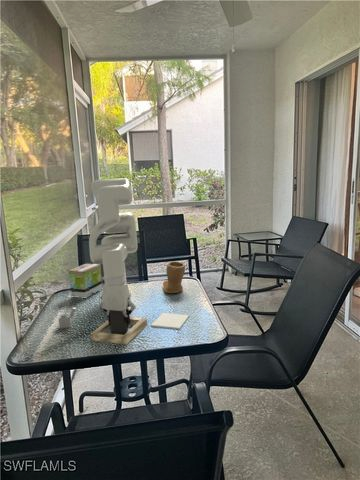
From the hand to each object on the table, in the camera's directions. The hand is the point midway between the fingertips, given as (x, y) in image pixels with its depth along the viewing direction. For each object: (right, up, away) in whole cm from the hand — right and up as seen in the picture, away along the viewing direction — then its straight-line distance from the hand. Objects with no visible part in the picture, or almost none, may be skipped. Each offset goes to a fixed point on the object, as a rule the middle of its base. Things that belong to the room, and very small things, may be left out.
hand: (119, 324), depth 128 cm
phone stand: (0, -3, +1) cm, 3 cm away
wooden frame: (0, -3, +1) cm, 3 cm away
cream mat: (+20, -1, +7) cm, 21 cm away
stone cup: (+21, +6, +45) cm, 50 cm away
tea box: (-26, +4, +49) cm, 55 cm away
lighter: (-22, -3, +9) cm, 24 cm away
